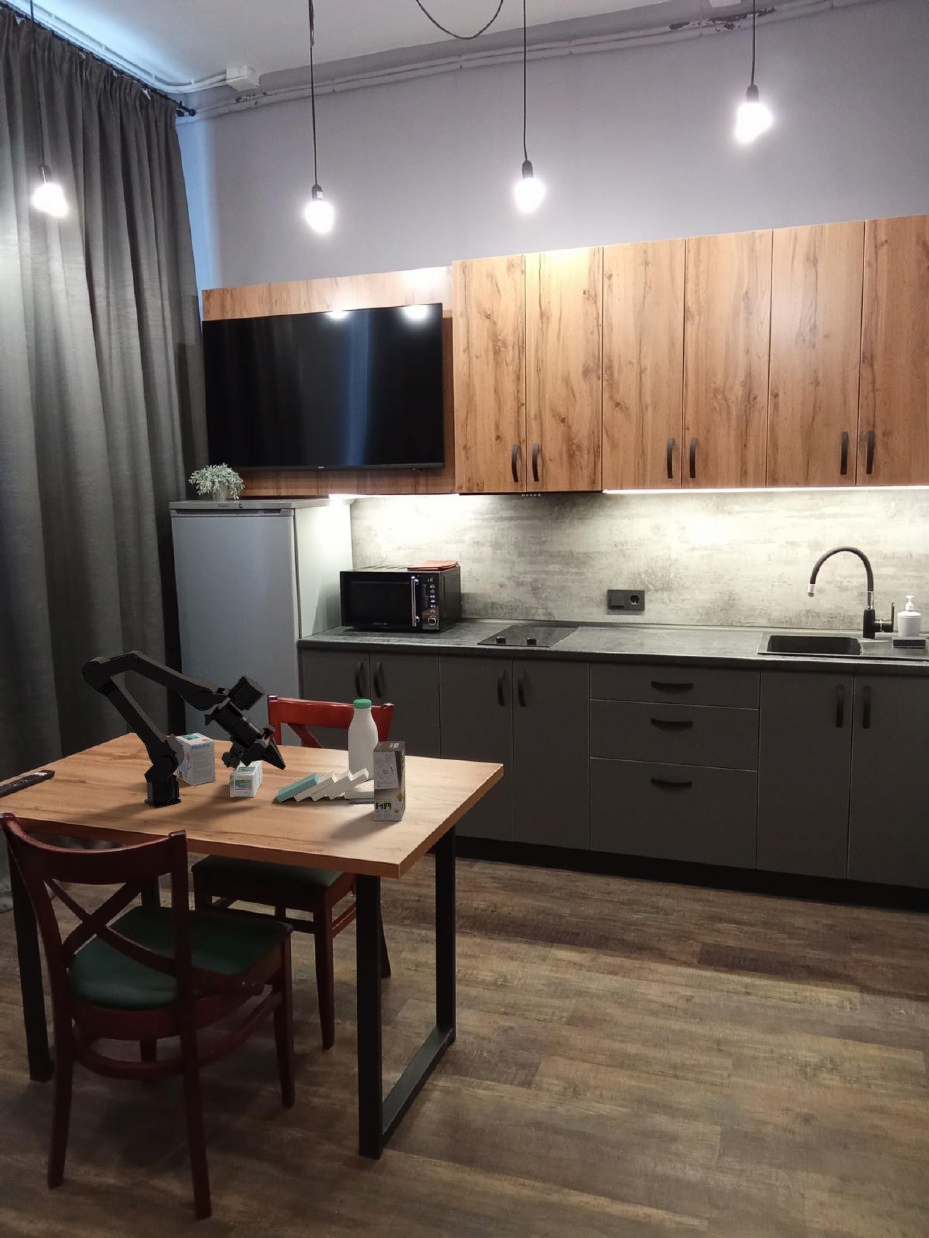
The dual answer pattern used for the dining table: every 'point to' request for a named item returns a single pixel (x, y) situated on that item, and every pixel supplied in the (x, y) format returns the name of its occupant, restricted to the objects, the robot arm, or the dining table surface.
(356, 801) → the mat
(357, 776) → the domino
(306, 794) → the domino
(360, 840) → the dining table surface
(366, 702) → the milk bottle
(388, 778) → the coffee box
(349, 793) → the domino
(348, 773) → the domino
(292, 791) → the domino
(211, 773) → the light bulb box
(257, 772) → the syrup box
